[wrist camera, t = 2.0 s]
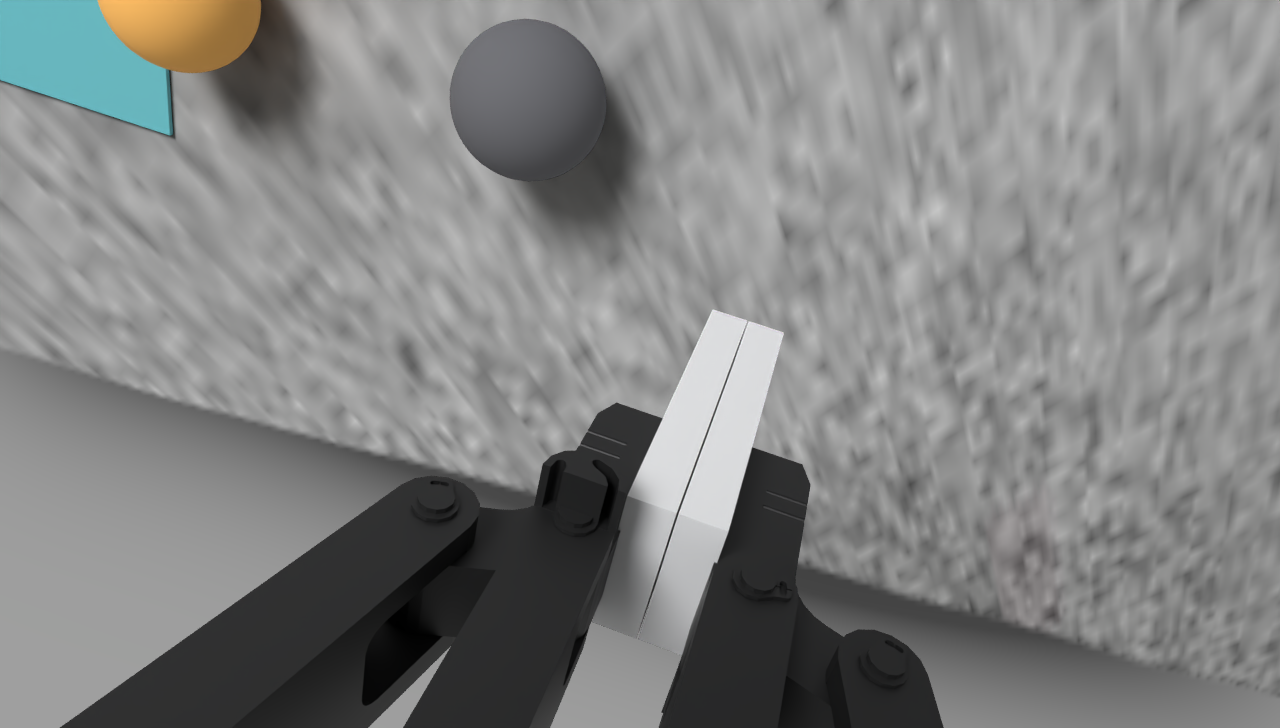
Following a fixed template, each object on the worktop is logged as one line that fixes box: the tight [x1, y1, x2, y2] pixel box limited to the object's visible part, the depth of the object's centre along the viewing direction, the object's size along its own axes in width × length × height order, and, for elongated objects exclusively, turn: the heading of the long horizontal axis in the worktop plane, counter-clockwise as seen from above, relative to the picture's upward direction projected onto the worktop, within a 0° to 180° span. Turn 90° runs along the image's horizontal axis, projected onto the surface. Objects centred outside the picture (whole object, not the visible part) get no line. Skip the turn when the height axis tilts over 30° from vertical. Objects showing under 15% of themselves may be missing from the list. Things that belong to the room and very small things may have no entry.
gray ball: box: [450, 19, 606, 181], centre depth 31 cm, size 6×6×6 cm
